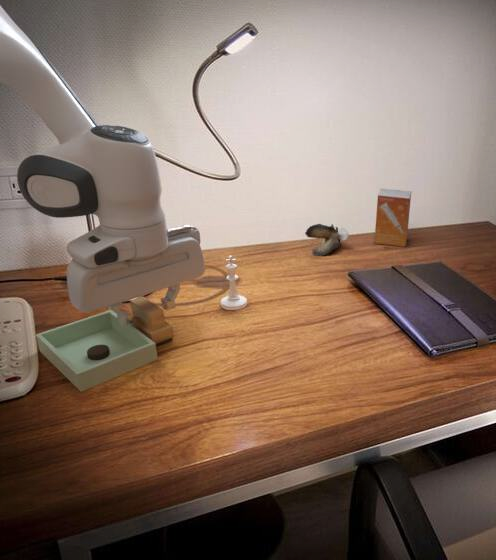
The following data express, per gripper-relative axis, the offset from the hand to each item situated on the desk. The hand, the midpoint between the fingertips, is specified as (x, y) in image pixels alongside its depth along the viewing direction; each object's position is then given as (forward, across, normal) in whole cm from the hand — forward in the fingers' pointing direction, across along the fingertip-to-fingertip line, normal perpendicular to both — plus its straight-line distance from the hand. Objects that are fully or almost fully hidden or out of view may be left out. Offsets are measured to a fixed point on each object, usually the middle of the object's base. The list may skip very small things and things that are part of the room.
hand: (148, 315), depth 86 cm
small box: (+5, -65, -2) cm, 65 cm away
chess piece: (+5, -17, -1) cm, 17 cm away
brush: (+4, 0, 0) cm, 4 cm away
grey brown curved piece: (+5, -49, -9) cm, 50 cm away
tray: (+4, +8, 0) cm, 9 cm away
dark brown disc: (+4, +8, 0) cm, 9 cm away
